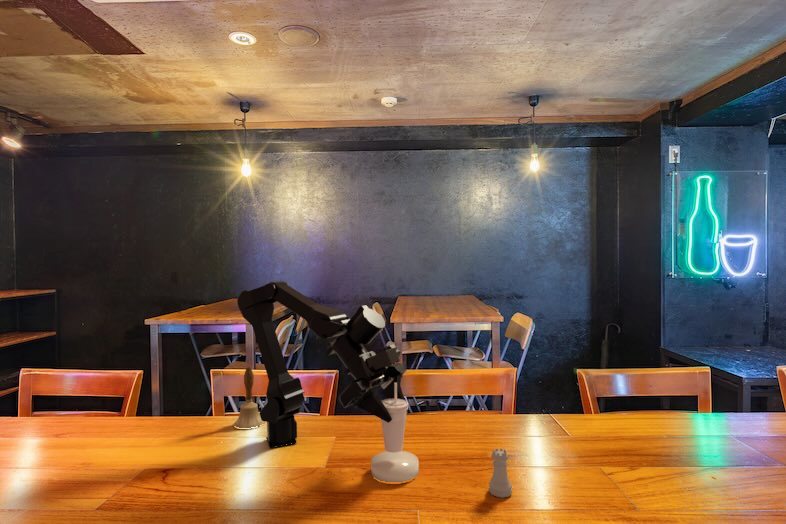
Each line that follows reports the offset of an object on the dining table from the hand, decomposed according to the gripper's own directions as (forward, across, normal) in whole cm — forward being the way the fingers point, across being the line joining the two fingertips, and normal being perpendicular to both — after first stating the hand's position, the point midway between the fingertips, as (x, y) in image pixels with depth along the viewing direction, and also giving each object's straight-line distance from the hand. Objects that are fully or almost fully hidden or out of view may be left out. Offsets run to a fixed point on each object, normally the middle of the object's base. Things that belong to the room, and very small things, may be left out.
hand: (398, 416), depth 94 cm
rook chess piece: (+23, +3, -6) cm, 24 cm away
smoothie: (+4, 0, +6) cm, 7 cm away
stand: (+8, 0, +9) cm, 12 cm away
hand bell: (-26, +4, +45) cm, 52 cm away
